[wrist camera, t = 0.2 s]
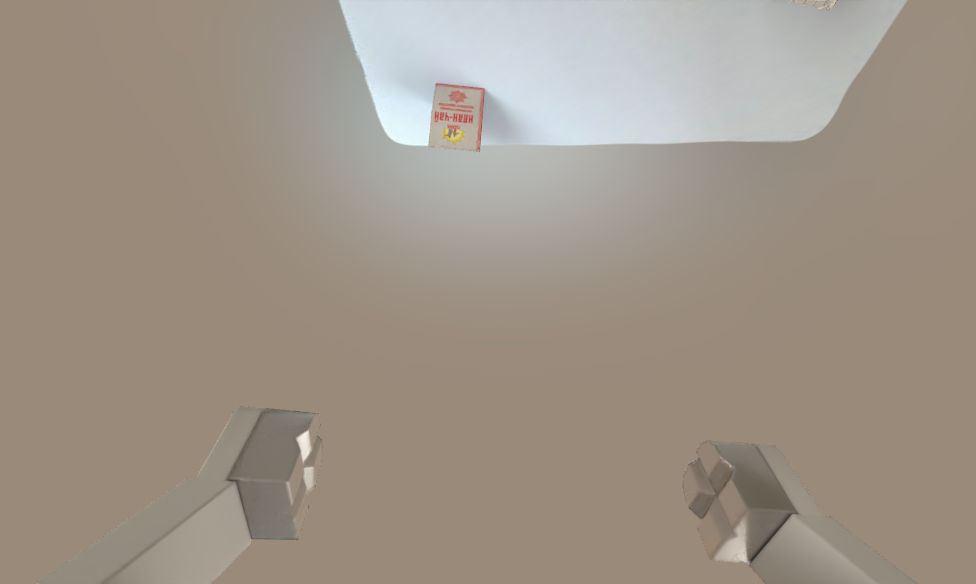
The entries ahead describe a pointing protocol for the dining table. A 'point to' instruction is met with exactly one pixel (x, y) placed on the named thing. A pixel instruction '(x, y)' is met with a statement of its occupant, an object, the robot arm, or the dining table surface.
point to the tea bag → (456, 117)
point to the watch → (817, 3)
